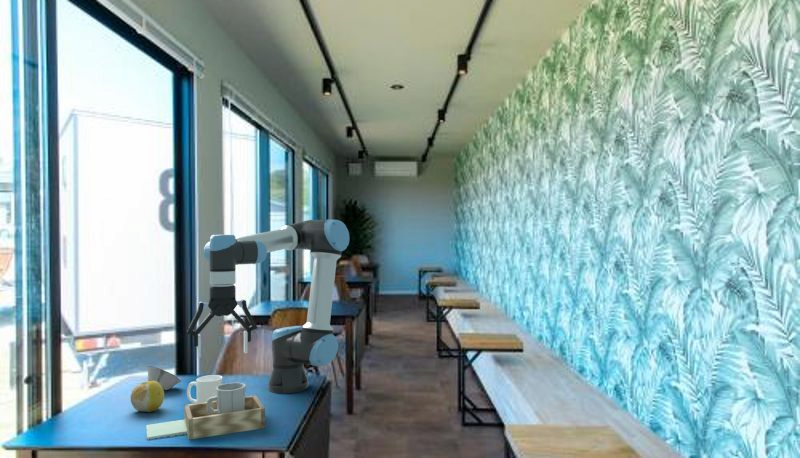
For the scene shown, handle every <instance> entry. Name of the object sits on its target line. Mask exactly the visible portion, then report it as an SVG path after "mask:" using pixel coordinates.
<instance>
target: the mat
mask: <svg viewBox="0 0 800 458" xmlns="http://www.w3.org/2000/svg"><path fill="white" fill-rule="evenodd" d="M145 428H146V430H147V431H146V441H149V439H150V440H156V439H155V438H157V439H161V438H160V437H164V438H167V437H166V436H170V437H175V435H177V436H182V435H183V434H184V435H187V429H186V424H185V418H184V419H179V420H178V419H177V420H172V421H165V422H159V423H158V422H157V423H151V424H146V427H145Z"/></svg>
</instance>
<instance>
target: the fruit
mask: <svg viewBox="0 0 800 458" xmlns="http://www.w3.org/2000/svg"><path fill="white" fill-rule="evenodd" d="M164 399H165V391H164V389H163V388H162V386H161V385H160V383H158V382H156V381H148V380H146V381H144V382H140V383H139V384H138V385H136V386H135V387H134V388H133V389H132V390H131V393H130V402H131V405H132V408H134V410H136V411H138V412H147V413H152V412H155V411H157V410H159V409H160V408H161V406H162V404H163V403H164Z"/></svg>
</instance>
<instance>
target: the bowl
mask: <svg viewBox="0 0 800 458" xmlns="http://www.w3.org/2000/svg"><path fill="white" fill-rule="evenodd" d="M147 381H156V382H158V383H160V385H161V386H162V388H163V390H165V391H168V390H170V389H172V388H173V387H175V386H176V385H178V384H180V383H181V380H180V379H179V377H177V376H176V375H175V374H173V373H171V372H170V371H167V370H164V369H163V368H159V367H156V366H152V365H149V366H147Z"/></svg>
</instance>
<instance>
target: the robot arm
mask: <svg viewBox="0 0 800 458" xmlns="http://www.w3.org/2000/svg"><path fill="white" fill-rule="evenodd" d="M349 244H350V232H349V230H348V228H347V226H346V224H345V223H344V222H343V221H341V220H339V219H329V218H328V219H308V220H303V221H299V222H296V223H292V224H287V225H286V224H285V225H284V226H282V227H281V228H280V229H275V230H270V231H264V232H260V233H255V234H249V235H243V236H238V237H236V235H234V234H212V235H211V236H210V239H209V241H207V242H206V244H205V246H204V247H203V257H204V258H205V260H206V261H208V262H209V284H210V285H211V286H210V287H209V301H208V302H203V301H199V302H198V306H197V310H196V312H195V314H194V316H193V318H192V320H191V321H190V324H189V326H188V328H187V330H186V332H187V334H188V335H191V336H193V339H192V340H193V347H196V349H197V350H196V352H197V353H196V354H197V355H196V356H197V358H198V359H200V358H202V336H201V334H200V333H201V332H202V331H203V330H204V329H205V327H206V326H207V325H208V324H209V322H210V321H211V320H212V319H213V318H214V317H215V316H216V317H223V316H226V317H229V316H230V315H231V316H233V317H234V319H235V320H236V321H237V322H238V323H239V324H240V325H241V326H242V327H243V328H244V329H245V330H244V331H243V353H244V354H245V355H247V354H248V353H249V352H248V348H249V347H248V343H251V341H252V331H254V330H257V329H258V326H257V324H256V322H255V319H254V318H253V316H252V314H251V312H250V310H249V308H248V305H247V304H248V303H247V300H246V299H244V298H243V299H240V300H236V293H237V292H236V290H237V289H236V288H237V287H236V286H235V284H236V282H237V281H236V268H237V267H236V265H256V264H261V263H263V262H264V261H266V260H265V259H266V258H267V257H268V256H267V254H268V253H273V252H277V251H281V250H286V251H293V250H294V251H295V250H307V251H308V250H309V251H310V255H311V256H312V257H313V264H312V272H311V281H310V289H309V298H308V307H307V316H306V323H304V324H303V325H294V326H285V327H281V328H276V329H275V330H273V332H272V336H271V337H272V339H271V350H272V351H271V353H272V370H271V373H270V376H269V379H268V383H267V389H268V391H269V392H271V393H274V394H294V393H299V392H303V391H305V390H308V388H309V385H310V384H309V379H308V375H307V373H306V369H305V366H304V365H310V366H313V367H325V366H328V365H329V364H331V363H332V362H333V360H335V358H336V356H337V354H338V350H339V341H338V338H337V337H336V336H335V335H334V328H333V327H332V326H331V316H332V308H333V307H332V305H333V298H334V288H335V280H336V279H335V278H336V270H337V269H336V268H337V261H338V260H339V259H340V258H341V257H342V252H344V251H345V250H346V249H347V247H348V246H349ZM237 306H239V307H240V308H241V309H242V312H243V314H244V315H245V317H246V319H247V320H248V323H249V324H250V326H249V325H248V324H247V322H246V321H244V319H243V318H242V317H241V316H240V315H239V314H238V313H237V312H236V311H235V308H236V307H237ZM207 307H208V308H209V309H210V311H209V313H207V315H206V316H205V318H204V319H203V320H202V321H201V322H200V324H199V325H198V326H197V327H196V325H197V323H198V321H199V320H200V317H201V316H202V313H203V312H204V310H206V309H207ZM195 327H196V329H195Z"/></svg>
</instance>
